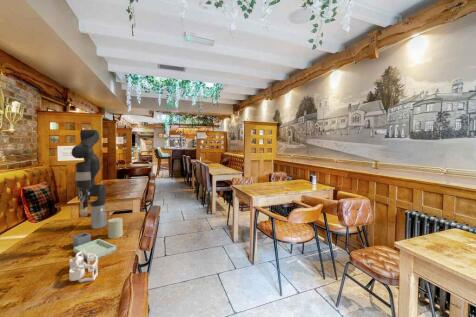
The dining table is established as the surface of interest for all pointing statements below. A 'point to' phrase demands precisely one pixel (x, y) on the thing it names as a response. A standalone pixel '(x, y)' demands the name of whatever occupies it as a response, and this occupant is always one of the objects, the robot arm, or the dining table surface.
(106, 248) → the tray
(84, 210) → the dowel pin
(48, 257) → the dining table surface
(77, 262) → the white wireframe roller cage
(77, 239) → the deep cup
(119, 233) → the can
